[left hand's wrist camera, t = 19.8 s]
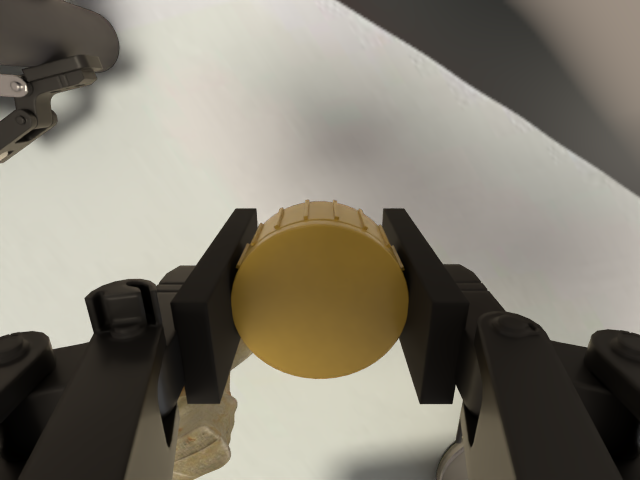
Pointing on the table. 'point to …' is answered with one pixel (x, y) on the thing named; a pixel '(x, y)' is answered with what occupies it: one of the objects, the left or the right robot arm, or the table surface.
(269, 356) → the lid
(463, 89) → the table surface
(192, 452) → the sculpture
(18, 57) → the grey cylindrical bottle
